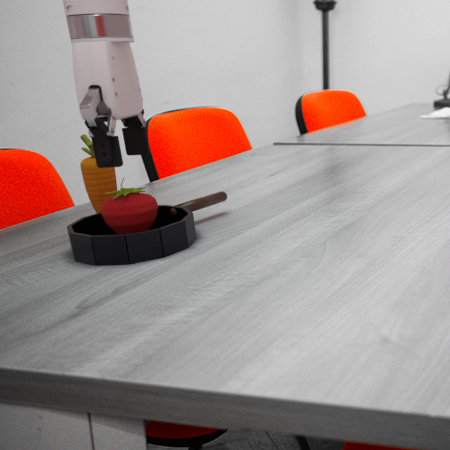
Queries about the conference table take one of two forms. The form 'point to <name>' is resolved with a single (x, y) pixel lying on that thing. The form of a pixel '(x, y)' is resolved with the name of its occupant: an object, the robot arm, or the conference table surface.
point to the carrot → (97, 178)
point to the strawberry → (129, 210)
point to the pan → (138, 235)
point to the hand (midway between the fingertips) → (125, 160)
